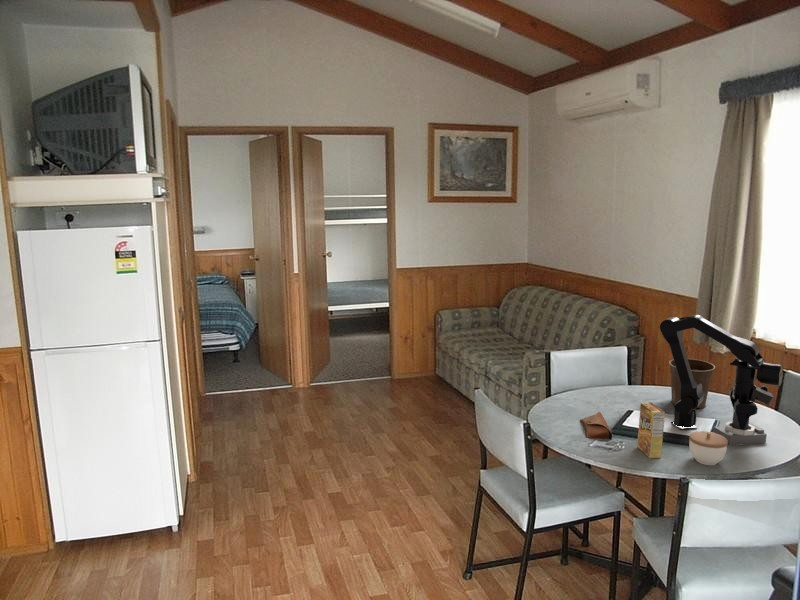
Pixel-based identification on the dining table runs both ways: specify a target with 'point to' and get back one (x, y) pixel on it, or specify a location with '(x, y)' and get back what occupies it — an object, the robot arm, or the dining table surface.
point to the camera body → (741, 434)
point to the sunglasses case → (596, 427)
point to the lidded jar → (707, 447)
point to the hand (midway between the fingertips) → (740, 424)
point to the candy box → (651, 430)
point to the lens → (735, 422)
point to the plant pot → (701, 375)
